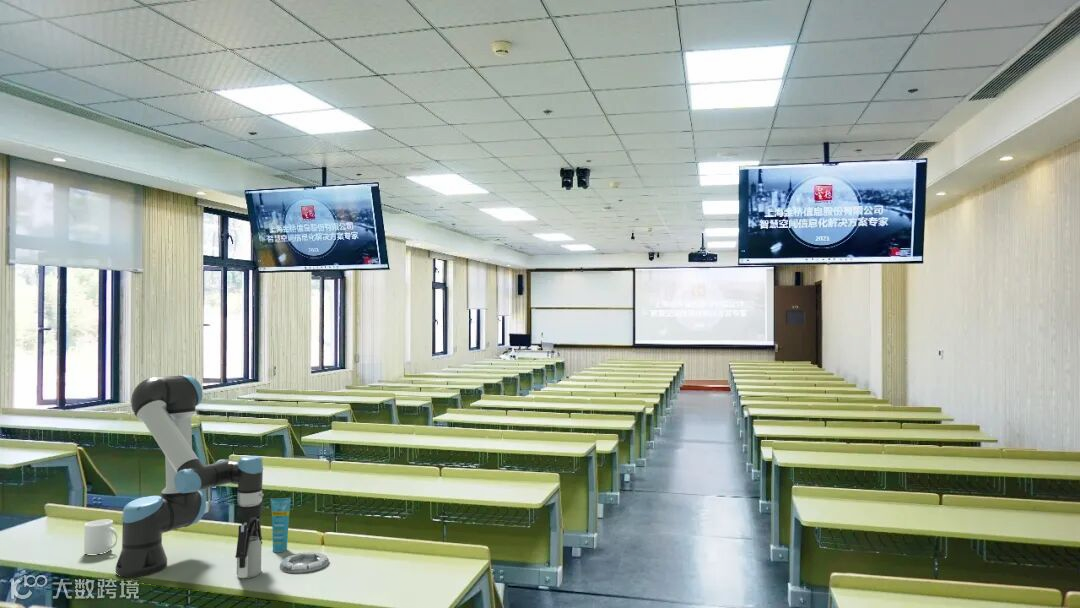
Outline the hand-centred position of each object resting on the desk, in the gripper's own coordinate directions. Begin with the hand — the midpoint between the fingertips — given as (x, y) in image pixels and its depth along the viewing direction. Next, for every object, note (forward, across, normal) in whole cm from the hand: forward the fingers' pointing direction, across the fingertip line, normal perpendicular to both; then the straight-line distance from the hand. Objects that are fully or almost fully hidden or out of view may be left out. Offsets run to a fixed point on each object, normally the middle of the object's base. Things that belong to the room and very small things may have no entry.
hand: (248, 570), depth 223 cm
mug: (+2, +27, +61) cm, 67 cm away
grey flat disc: (+1, +8, -16) cm, 18 cm away
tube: (+2, +24, -3) cm, 24 cm away
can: (+2, 0, 0) cm, 2 cm away
